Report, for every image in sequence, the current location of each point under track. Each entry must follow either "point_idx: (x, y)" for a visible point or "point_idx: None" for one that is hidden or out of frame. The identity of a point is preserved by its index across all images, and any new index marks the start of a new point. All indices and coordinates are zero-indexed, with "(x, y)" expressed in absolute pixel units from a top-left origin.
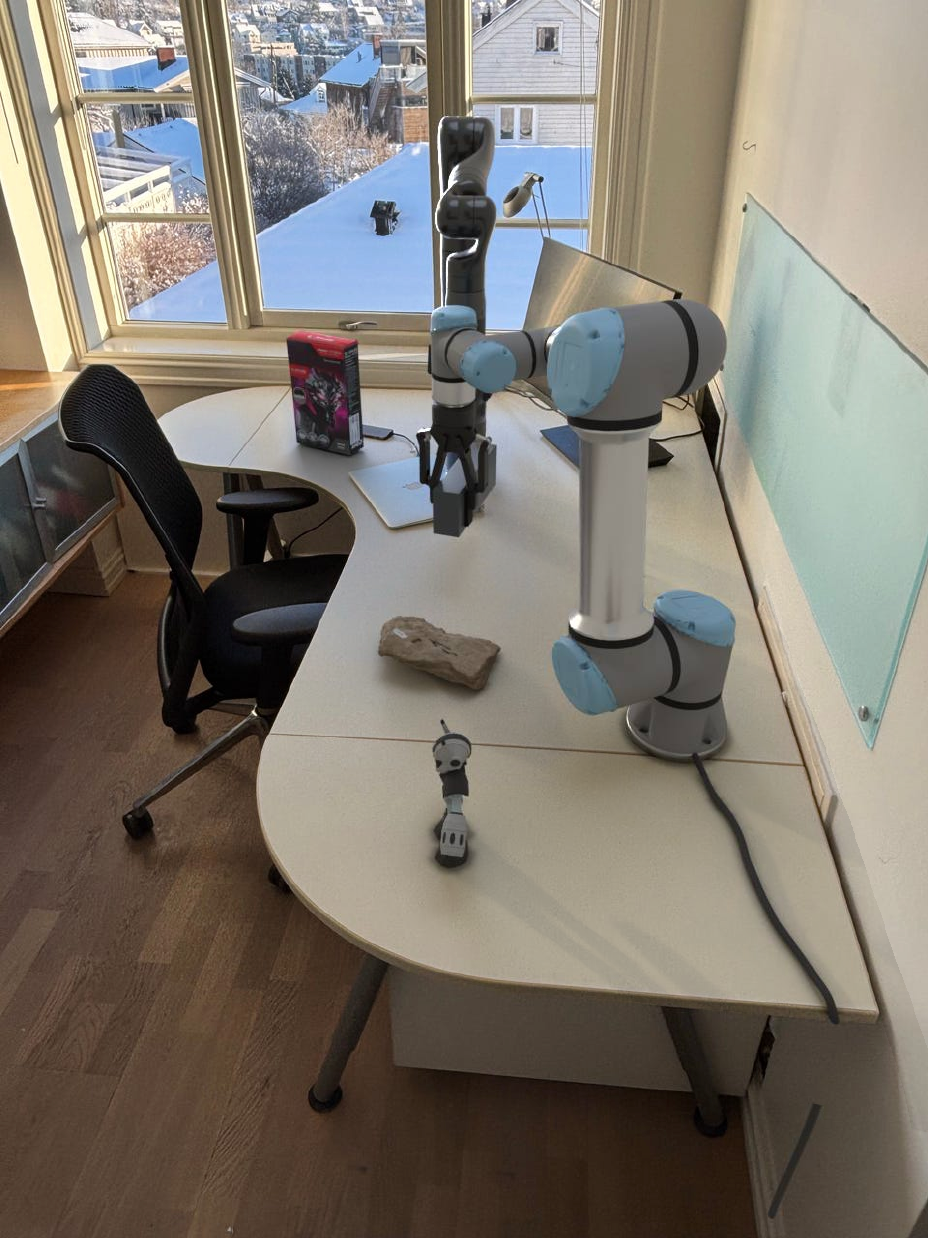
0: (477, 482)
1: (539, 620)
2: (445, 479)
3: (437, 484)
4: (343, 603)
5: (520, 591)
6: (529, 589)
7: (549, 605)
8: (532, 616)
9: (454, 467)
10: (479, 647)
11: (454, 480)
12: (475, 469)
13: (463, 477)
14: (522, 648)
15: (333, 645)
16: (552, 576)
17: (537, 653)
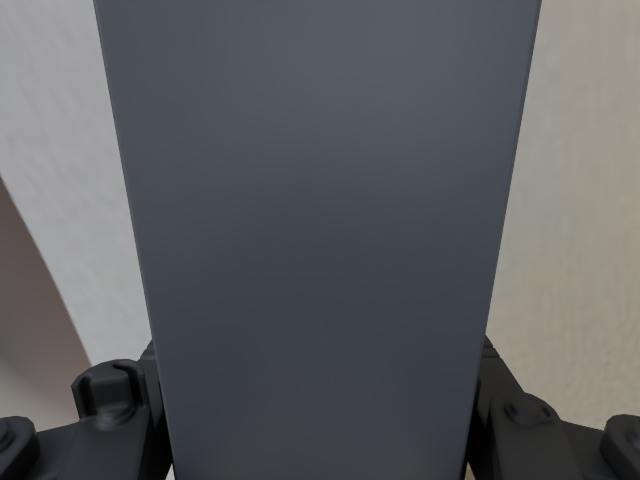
0: (571, 463)
1: (574, 282)
2: (214, 474)
3: (160, 449)
4: (100, 357)
5: (513, 168)
6: (539, 149)
7: (599, 211)
8: (555, 272)
9: (164, 158)
10: (471, 474)
11: (313, 472)
12: (490, 122)
13: (386, 389)
14: (541, 386)
15: (172, 475)
16: (609, 45)
17: (574, 391)
